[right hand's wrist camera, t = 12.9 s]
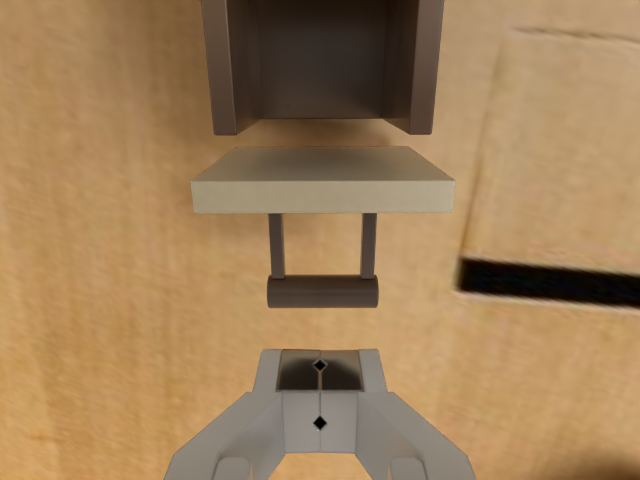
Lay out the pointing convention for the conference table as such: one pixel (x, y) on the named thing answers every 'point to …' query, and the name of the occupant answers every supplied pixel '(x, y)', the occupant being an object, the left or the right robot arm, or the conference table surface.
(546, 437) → the conference table surface
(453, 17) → the conference table surface
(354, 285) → the drawer
